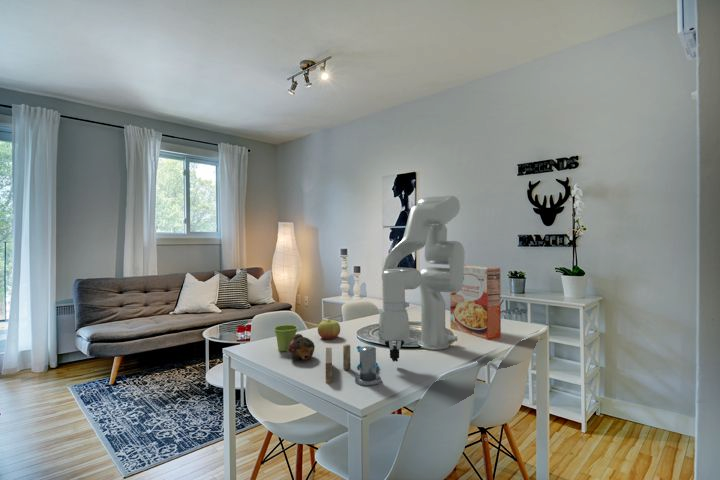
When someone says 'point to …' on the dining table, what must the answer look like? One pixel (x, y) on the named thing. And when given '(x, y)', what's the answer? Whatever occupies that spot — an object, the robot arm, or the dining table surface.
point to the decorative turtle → (301, 347)
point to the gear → (359, 364)
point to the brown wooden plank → (328, 365)
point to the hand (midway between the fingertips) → (394, 360)
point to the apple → (329, 329)
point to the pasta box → (477, 303)
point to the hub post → (367, 367)
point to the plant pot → (285, 336)
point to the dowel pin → (346, 357)
